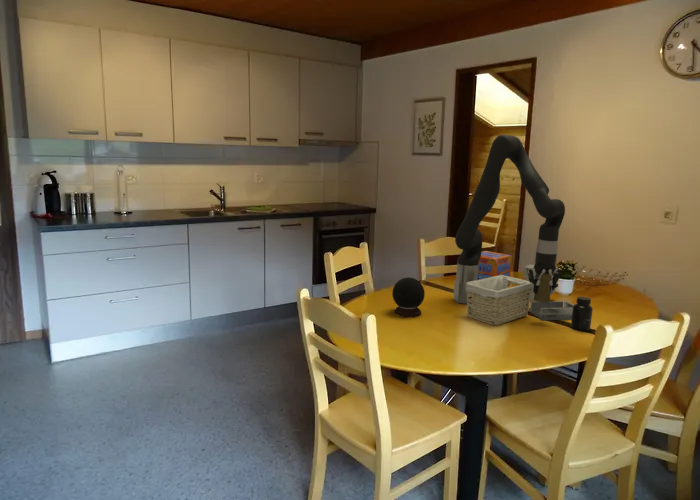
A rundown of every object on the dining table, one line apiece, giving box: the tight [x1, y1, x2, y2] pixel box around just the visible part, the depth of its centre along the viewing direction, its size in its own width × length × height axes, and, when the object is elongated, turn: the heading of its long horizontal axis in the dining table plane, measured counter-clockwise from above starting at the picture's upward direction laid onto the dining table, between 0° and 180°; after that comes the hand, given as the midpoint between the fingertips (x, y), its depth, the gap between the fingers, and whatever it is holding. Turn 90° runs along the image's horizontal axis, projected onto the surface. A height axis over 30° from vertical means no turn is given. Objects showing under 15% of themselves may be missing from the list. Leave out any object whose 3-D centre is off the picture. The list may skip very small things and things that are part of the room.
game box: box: [478, 250, 513, 286], centre depth 253 cm, size 16×16×16 cm
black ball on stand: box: [391, 277, 426, 318], centre depth 205 cm, size 13×13×15 cm
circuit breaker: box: [522, 264, 559, 302], centre depth 227 cm, size 8×14×15 cm, turn 53°
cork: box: [534, 273, 553, 302], centre depth 194 cm, size 6×6×11 cm
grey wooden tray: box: [528, 300, 575, 321], centre depth 206 cm, size 16×12×4 cm
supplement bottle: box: [570, 296, 594, 332], centre depth 190 cm, size 7×7×12 cm
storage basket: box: [466, 275, 532, 326], centre depth 202 cm, size 24×16×15 cm
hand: (541, 293), depth 195 cm, fingers closed on cork, 4 cm apart
